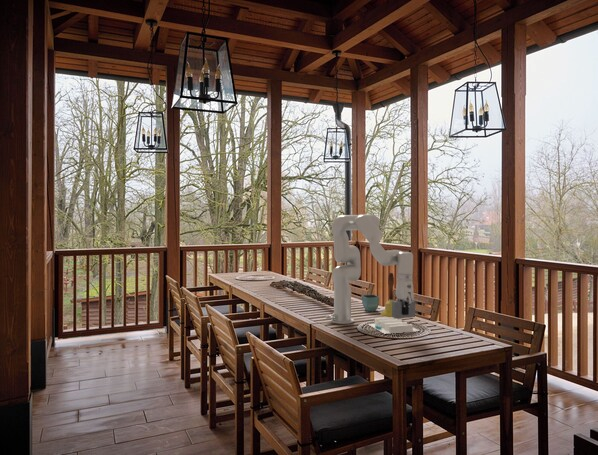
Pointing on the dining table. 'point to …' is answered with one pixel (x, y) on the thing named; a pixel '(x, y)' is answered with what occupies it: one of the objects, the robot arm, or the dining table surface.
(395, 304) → the panel
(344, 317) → the robot arm
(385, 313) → the handbell
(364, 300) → the flower pot
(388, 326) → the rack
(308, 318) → the dining table surface
